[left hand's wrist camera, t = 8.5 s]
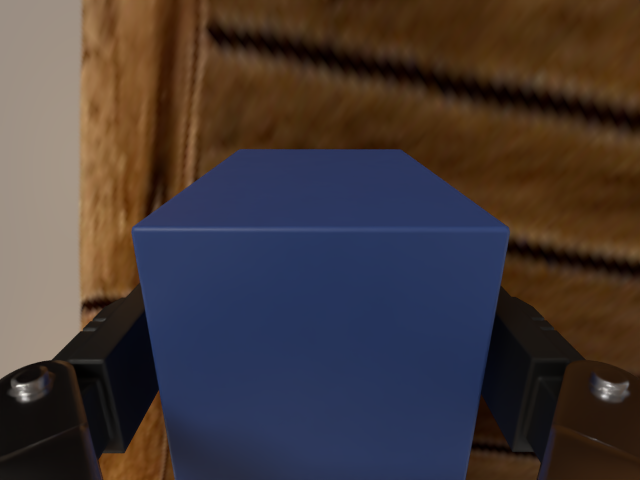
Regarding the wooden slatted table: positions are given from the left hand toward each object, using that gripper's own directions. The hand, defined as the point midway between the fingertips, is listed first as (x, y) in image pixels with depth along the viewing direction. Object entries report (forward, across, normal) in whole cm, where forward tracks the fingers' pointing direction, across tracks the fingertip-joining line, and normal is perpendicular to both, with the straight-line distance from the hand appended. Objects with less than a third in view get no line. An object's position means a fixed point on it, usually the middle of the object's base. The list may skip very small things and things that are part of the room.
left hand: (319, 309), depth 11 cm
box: (+5, 0, -9) cm, 10 cm away
